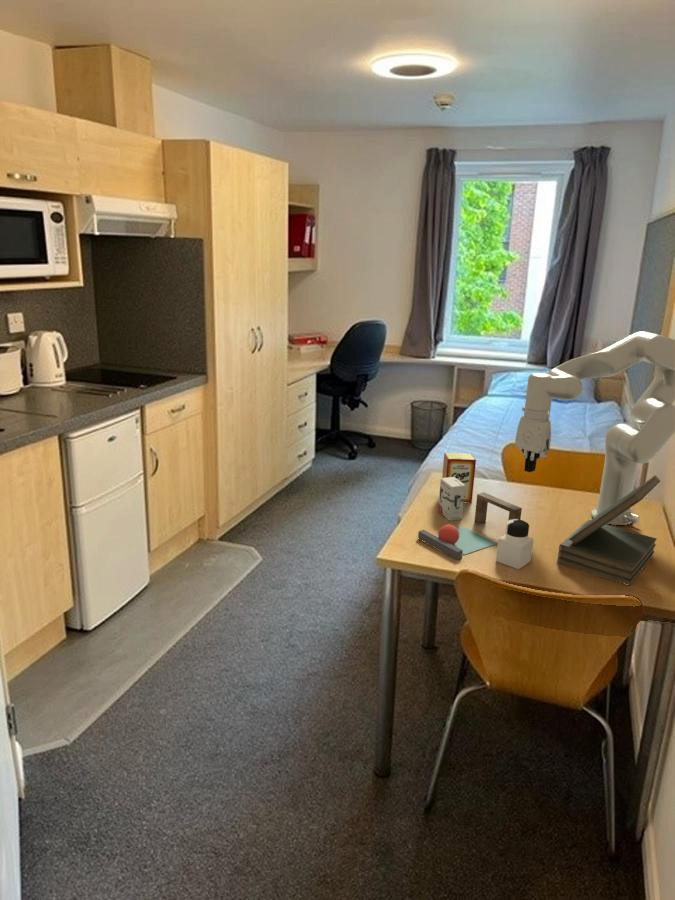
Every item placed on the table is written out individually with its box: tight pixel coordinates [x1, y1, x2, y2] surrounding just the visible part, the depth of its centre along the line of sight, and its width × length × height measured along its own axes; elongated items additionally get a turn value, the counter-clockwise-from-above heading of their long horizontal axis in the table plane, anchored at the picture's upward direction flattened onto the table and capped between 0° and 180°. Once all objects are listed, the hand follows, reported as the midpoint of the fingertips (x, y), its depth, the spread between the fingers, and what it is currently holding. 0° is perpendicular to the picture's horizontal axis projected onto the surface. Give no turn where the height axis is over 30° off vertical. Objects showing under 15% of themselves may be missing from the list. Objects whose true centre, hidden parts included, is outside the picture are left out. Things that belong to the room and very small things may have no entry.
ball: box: [437, 524, 459, 545], centre depth 189 cm, size 6×6×6 cm
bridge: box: [473, 492, 523, 526], centre depth 199 cm, size 3×15×10 cm, turn 35°
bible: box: [556, 475, 661, 586], centre depth 180 cm, size 23×20×25 cm
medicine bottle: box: [495, 519, 534, 570], centre depth 179 cm, size 7×7×12 cm
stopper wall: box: [417, 529, 463, 560], centre depth 187 cm, size 16×2×2 cm, turn 35°
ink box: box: [437, 477, 465, 521], centre depth 209 cm, size 9×5×12 cm, turn 18°
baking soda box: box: [441, 452, 477, 504], centre depth 222 cm, size 10×6×16 cm
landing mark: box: [435, 526, 498, 556], centre depth 193 cm, size 14×14×1 cm
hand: (529, 470), depth 203 cm, fingers closed
